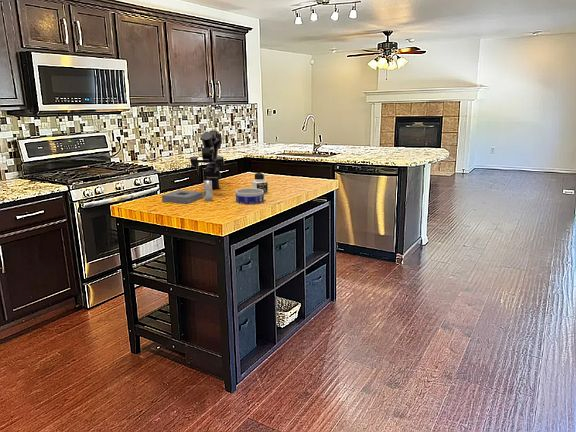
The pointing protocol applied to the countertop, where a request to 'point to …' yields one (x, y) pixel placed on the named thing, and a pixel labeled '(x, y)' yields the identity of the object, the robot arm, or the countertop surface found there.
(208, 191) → the peg
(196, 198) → the socket block
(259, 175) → the medicine bottle
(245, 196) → the dog bowl
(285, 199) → the countertop surface
